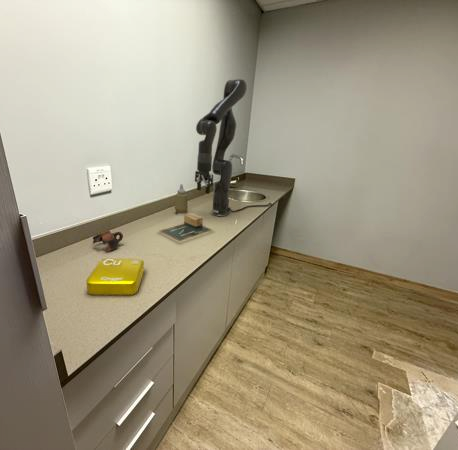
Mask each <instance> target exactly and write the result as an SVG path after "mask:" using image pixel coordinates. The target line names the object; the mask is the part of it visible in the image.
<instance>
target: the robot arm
mask: <svg viewBox="0 0 458 450" xmlns="http://www.w3.org/2000/svg"><path fill="white" fill-rule="evenodd" d="M247 89H248V87H247V82H246V80H245V79H241V78H237V79H235V78H234V79H229V80H226V81H225V84H224V89H223V99H221V100H220V101H218V102H217V103H216V104H215V105H214V106H213V107H212V108H211V109H210V111H209V112H208V113H207V114H205V115H204V116H203V117H202V118H200V119H199V120H198V121H197V123H196V125H195V131H196V133H197V134H198V135H200V136H204V139H202V140H200V141H198V147H197V149H198V150H197V151H198V152H197V161H196V162H197V163H196V165H197V166H196V171H195V173H194V182H195V183H196V191H201V190H202V182H203V183H204V185H205V191H204V192H205V193H204V194H207V195H209V194H210V192H211V187H213V194H212V195H213V197H212V210H211V211H212V212H211V214H212V215H213V216H214V217H215V216H216V217H226V216H227V215H228V214H229V213H230V212H231V213H237V212H239V211H243V210H244V209H246V208H252V207H253V208H254V207H268V206H272V203H271V202H268V204H254V205H253V204H252V205H247V206H243V207H242V208H239V209H236V210H232V209H231V207H229V204H230V199H229V194H230V185H231V182H232V177H233V163H232V161H231V160H227V159H225V155H226V152H227V149H228V148H229V147H230V145H231V144H232V142H233V141H234V139H235V136H236V131H237V121H236V117H235V115H234V112H233V107H234V106H235V105H236V104H237V103H238V102H239V101H241V100H242V99H243V98H244V97H245V95H246V94H247ZM219 123H220V124H219ZM218 124H219V130H218V137H217V143H216V148H215V153H214V157H213V144H214V142H215V141H214V140H215V137H216V134H217V129H218V127H217V125H218ZM210 172H212V173H213V174H210ZM214 175H217V176H220V177H219V180H215V181H214Z"/></svg>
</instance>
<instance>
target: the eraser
mask: <svg viewBox="0 0 458 450" xmlns="http://www.w3.org/2000/svg"><path fill="white" fill-rule="evenodd" d="M183 220H184V221H183V224H185V225H188V226H190V227H193V228H195V229H197V228H200V227H202V226H204V224H203V222H204V217H202V216H199V215H197V214H194V213H188V214H187V213H186V214H184V216H183Z"/></svg>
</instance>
